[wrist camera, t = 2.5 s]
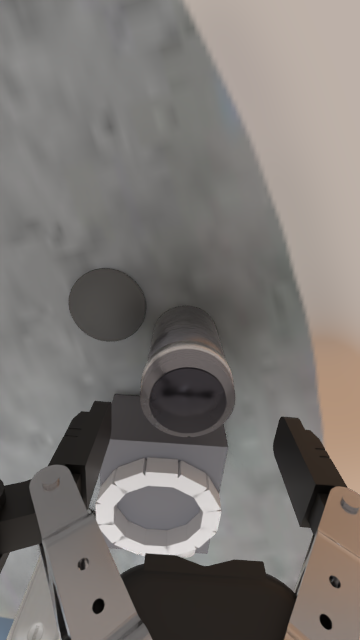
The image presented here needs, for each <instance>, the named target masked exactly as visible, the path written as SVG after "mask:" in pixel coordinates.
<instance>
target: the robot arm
mask: <svg viewBox="0 0 360 640" xmlns="http://www.w3.org/2000/svg"><path fill="white" fill-rule="evenodd" d="M111 429H112V406H111V402H101V401H95V402H94V403H93V405H92V407H91V410H90V412H83V411H81V412H80V413H79V414H78V415H77V416H76V417H74V418H73V420H72V422H71V423H70V425H69V427H68V429H67V431H66V433H65V435H64V437H63V439H62V440H61V442H60V444H59V446H58V448H57V450H56V452H55V454H54V455H53V457H52V459H51V461H50V463H49V465H48V466H47V467H45V468H43V469H41V470H40V471H39V472H37V473H36V474H35V475H34V477H33V478H32V479H31V480H28V481H25V482H21V483H16V484H11V485H6V486H4V484H3V482H2V481H1V480H0V573H1V571H2V568H3V566H4V564H5V562H6V559H7V557H8V555H9V553H10V552H11V551H15V550H19V549H22V548H26V547H30V546H33V545H37V544H38V546H39V550H40V555H41V559H42V563H43V567H44V571H45V575H46V579H47V583H48V587H49V591H50V595H51V600H52V605H53V610H54V615H55V619H56V623H57V628H58V632H59V636H60V640H359V639H360V495H359V494H358V493H356V492H355V491H353V490H351V489H349V488H347V486H346V484H345V483H344V481H343V479H342V477H341V476H340V474H339V472H338V470H337V469H336V467H335V465H334V464H333V462H332V460H331V459H330V458H329V455H328V453H327V452H326V451H325V448H324V446H323V445H322V443H321V441H320V439H319V438H318V437H317V436H315V435H314V434H313V433H312V432H311V431H310V430H305V429H304V427H303V425H302V423H301V421H300V420H299V419H298V418H292V417H281V418H280V420H279V423H278V427H277V431H276V435H275V438H274V443H273V450H274V456H275V459H276V461H277V464H278V467H279V470H280V472H281V475H282V478H283V481H284V483H285V486H286V489H287V492H288V495H289V497H290V500H291V503H292V506H293V508H294V511H295V514H296V517H297V519H298V522H299V525H300V527H308V528H311V530H312V532H313V536H312V539H311V542H310V545H309V548H308V551H307V554H306V557H305V560H304V563H303V566H302V569H301V572H300V575H299V578H298V581H297V584H296V586H295V589H294V592H293V591H292V590H291V589H290V588H289V587H287V586H286V585H285V584H284V583H282V582H281V581H279V580H278V579H276V578H275V577H273V576H271V575H269V574H266V572H265V568H264V563H263V562H260V561H247V560H231V561H227V562H223V563H219V564H215V565H211V566H201V565H199V564H196V563H194V562H191V561H188V560H186V559H183V558H180V557H178V556H175V555H164V554H150V553H145V562H144V564H141V565H138V566H135V567H133V568H130V569H129V570H127V571H125V572H123V573H122V574H121V575H120V573H119V571H118V569H117V566H116V564H115V562H114V560H113V557H112V555H111V553H110V551H109V548H108V546H107V544H106V541H105V539H104V537H103V535H102V532H101V530H100V528H99V526H98V523H97V521H96V519H95V517H94V515H93V514H92V513H90V514H89V513H88V511H87V510H88V507H89V504H90V501H91V497H92V494H93V491H94V488H95V485H96V482H97V479H98V476H99V473H100V469H101V466H102V463H103V460H104V457H105V454H106V451H107V448H108V445H109V441H110V437H111Z"/></svg>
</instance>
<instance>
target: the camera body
mask: <svg viewBox="0 0 360 640" xmlns="http://www.w3.org/2000/svg"><path fill="white" fill-rule="evenodd" d="M111 406H112V429H111V437H110V441H109V445H108V448H107V451H106V454H105V457H104V460H103V463H102V466H101V469H100V485H101V487H100V490H99V494H98V497H97V501H96V521H97V523H98V526H99V528H100V530H101V531H102V535H103V537H104V539H105V541H106V544H107V546H108V548H116V549H126V550H128V551H130V552H133V553H135V554H137V555H138V554H139V553H140V552H141V555H143V556H145V553H150V554H164V555H169V554H170V555H178V556H180V557H191V556H193V555H194V554H195V553H205V554H207V553H208V548H209V543H210V538H211V537H212V536H213V535H214V534H216V531H217V530H218V525H219V520H220V516H221V505H220V498H219V491H220V486H221V481H222V476H223V471H224V466H225V461H226V456H227V450H228V444H227V439H226V434H225V429H224V424H222V425H221V426H220V427H219V428H217V429H215V430H214V431H212V432H210V433H207V434H204V435H201V436H196V437H179V436H174V435H170V434H167V433H165V432H163V431H161V430H159V429H158V428H156V427H155V426H154V425H152V424H151V423H150V421H149V420H148V419H147V418H146V416H145V415H144V413H143V410H142V408H141V403H140V396H130V395H117V394H115V395H114V398H113V401H112V404H111Z"/></svg>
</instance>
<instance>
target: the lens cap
mask: <svg viewBox="0 0 360 640" xmlns="http://www.w3.org/2000/svg"><path fill="white" fill-rule="evenodd" d="M69 309H70V313H71V316H72V318H73V320H74V322H75V323H76V324H77V326H78V327H79V328H80V329H81V330H82V331H83V332H84V333H86V334H87V335H89V336H91V337H93V338H95V339H98V340H102V341H119V340H123V339H125V338H127V337H129V336H131V335H132V334H134V333H135V332H136V331H137V330H138V328H139V327H140V325H141V324H142V321H143V319H144V315H145V310H146V304H145V298H144V295H143V293H142V291H141V289H140V287H139V286H138V284H137V283H136V282H135V281H134V280H133V279H132V278H131V277H129V276H128V275H126V274H124V273H122V272H120V271H117V270H114V269H105V268H103V269H96V270H93V271H90V272H88V273H86V274H85V275H83V276H82V277H81V278H79V279H78V280H77V281H76V283H75V284H74V286H73V287H72V289H71V292H70V296H69Z"/></svg>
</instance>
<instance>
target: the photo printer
mask: <svg viewBox="0 0 360 640" xmlns="http://www.w3.org/2000/svg"><path fill="white" fill-rule="evenodd" d="M87 511H88V513H89V514H90V513H91V511H90V509H88V510H87ZM92 514H93V513H92ZM93 515H94V514H93ZM94 517H95V516H94ZM6 640H60V636H59V632H58V628H57V623H56V619H55V615H54V610H53V605H52V600H51V595H50V591H49V587H48V583H47V579H46V575H45V571H44V567H43V563H42V559H41V555H40V557H39V559H38V562H37V564H36V567H35V569H34V572H33V574H32V577H31V579H30V582H29V584H28V587H27V589H26V592H25V594H24V597H23V599H22V602H21V604H20V607H19V609H18V612H17V614H16V617H15V619H14V622H13V625H12V627H11V629H10V632H9V634H8V637H7V639H6Z"/></svg>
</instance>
